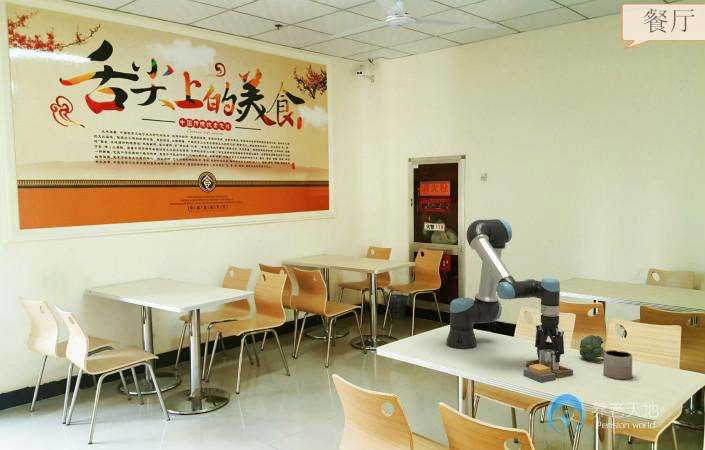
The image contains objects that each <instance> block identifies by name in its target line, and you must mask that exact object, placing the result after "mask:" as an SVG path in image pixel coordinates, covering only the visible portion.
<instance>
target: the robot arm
mask: <svg viewBox="0 0 705 450" xmlns="http://www.w3.org/2000/svg"><path fill="white" fill-rule="evenodd" d="M465 234H466V241H467V243H468V245H469V247H470V249H472V250H474V251H475V252H476V253H477V255H478V257H479V259H480V260H481V263H482V265H481V270H480V271H481V272H480V278H479V287H478V292H477V293H475V296H474V299H473V298H471V297H458V298H455V299H453V300H451V302H450V305H449V306H450V307H449V331H448V334H447V338H446V340H445V342H446V345H447V346H448V347H450V348H453V349H454V348H455V349H461V350H464V349H465V350H467V349H473V348H477V346H478V343H477V338H476V335H475V332H474V331H475V330H474V324H485V323H486V324H487V323H488V324H489V323H493V322H496V321H498V320H499V319H500V318H501V316H502V313H503V311H502V310H503V309H502V308H503V307H502V304H501V301H500V300H513V299H514V300H515V299H529V298H535V299H540V323H541V324H538V325H535V329H536V332H535V341H534V342H535V343H534V347H535V348H536V349H537V348H538V349H539V364H541V365H544V350H543V349H545V348H544V347H545V344H546V341H547V342H548V338H549V339H550V340H551V341H550V342H552V345H553V349H554V353H555V354H554V355H553V370H558V369H559V365H560V362H561V356H562V355H565V346H564V345H565V342H564V341H565V340H564V334H565V331H564V330H560V329H559V324H560V297H561V296H560V293H561V287H560V285H561V284H560V280H559V279H557V278H552V277H551V278H549V277H545V278H544V277H543V278H542V279H541V280H537V279H533V278H532V279H531V278H527V279H525V280H517V281H516V280H515V278H514V277H513V276H512V274H511V273H510V271H509V270H508V268H507V266H506V265H505V264H504V262H503V261H502V259H501V257H502V252H503V250H505V249H506V244H508V243H510V241H511V240H512V237H513V231H512V227H511V225H510V223H509V222H508V221H507V220H505V219H500V218H499V219H498V218H497V219H496V218H494V219H492V218H491V219H475V220H474V221H473V222H471V223H470V224H469V226H468V227H467V230H466V233H465ZM560 355H561V356H560Z"/></svg>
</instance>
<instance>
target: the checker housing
mask: <svg viewBox="0 0 705 450" xmlns="http://www.w3.org/2000/svg"><path fill="white" fill-rule="evenodd" d="M523 377H526V378H528V379H531V380H534V381H536V382H539V383H541V384H543V383H547V382H551V381H556V380H557V378H556V374H555V373H552V372H550V373H548V374H543V375H538V374H535V373H533V372H530V371H529V368H526V369H523Z"/></svg>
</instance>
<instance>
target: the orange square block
mask: <svg viewBox="0 0 705 450" xmlns="http://www.w3.org/2000/svg"><path fill="white" fill-rule="evenodd" d="M528 369H529V371H530V372H533V373H535V374H538V375H543V374H548V373H550V367H547V366H544V365H541V364H536V365H530V366H529V367H528Z"/></svg>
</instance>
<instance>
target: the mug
mask: <svg viewBox="0 0 705 450" xmlns="http://www.w3.org/2000/svg"><path fill="white" fill-rule="evenodd" d="M544 348H545V349H543V350H548V349H550V350H553V351H554V349H553V345H552V341H548V340H547V341H546V344H545V347H544ZM536 352H537V353H536V354H537V359H539V349H538V348H537V347H536ZM561 356H562V355H560V357H561Z"/></svg>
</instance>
